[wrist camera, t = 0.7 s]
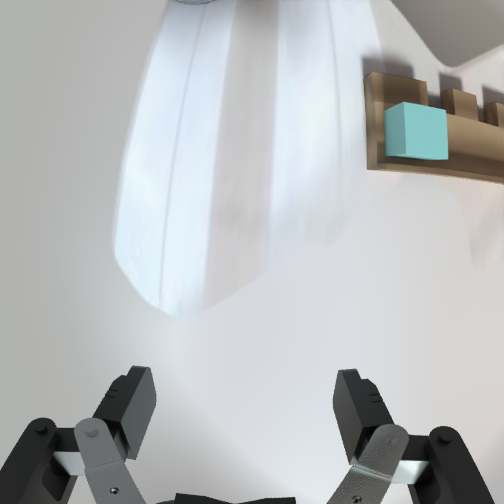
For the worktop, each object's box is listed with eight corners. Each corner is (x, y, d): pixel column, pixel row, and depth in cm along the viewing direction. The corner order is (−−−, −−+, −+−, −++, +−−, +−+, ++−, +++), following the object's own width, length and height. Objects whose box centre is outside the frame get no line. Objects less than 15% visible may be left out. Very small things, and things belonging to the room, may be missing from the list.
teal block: (383, 110, 29) (403, 101, 24) (422, 116, 29) (445, 110, 24) (385, 156, 30) (405, 153, 25) (424, 160, 30) (448, 159, 25)
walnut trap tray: (363, 78, 31) (382, 63, 25) (513, 115, 30) (539, 111, 24) (367, 169, 33) (388, 169, 27) (516, 186, 33) (542, 190, 27)
